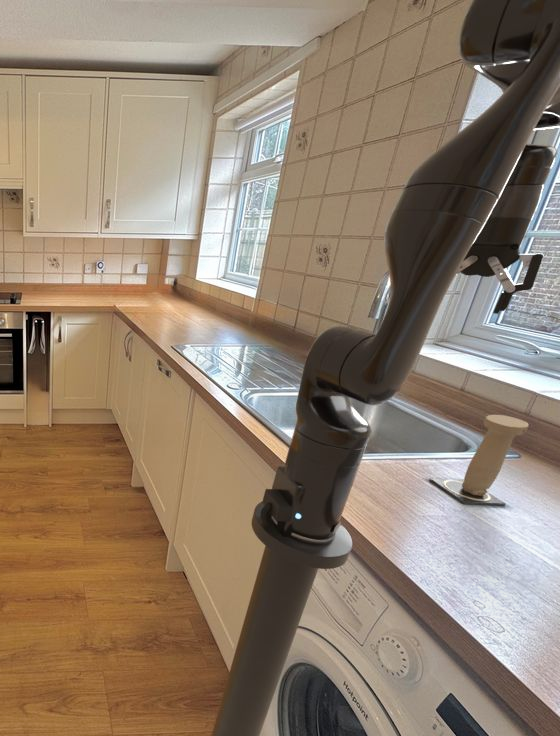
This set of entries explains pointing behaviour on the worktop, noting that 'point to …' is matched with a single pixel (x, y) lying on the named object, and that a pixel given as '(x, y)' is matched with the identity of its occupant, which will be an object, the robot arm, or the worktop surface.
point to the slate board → (465, 493)
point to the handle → (491, 452)
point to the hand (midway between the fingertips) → (463, 309)
